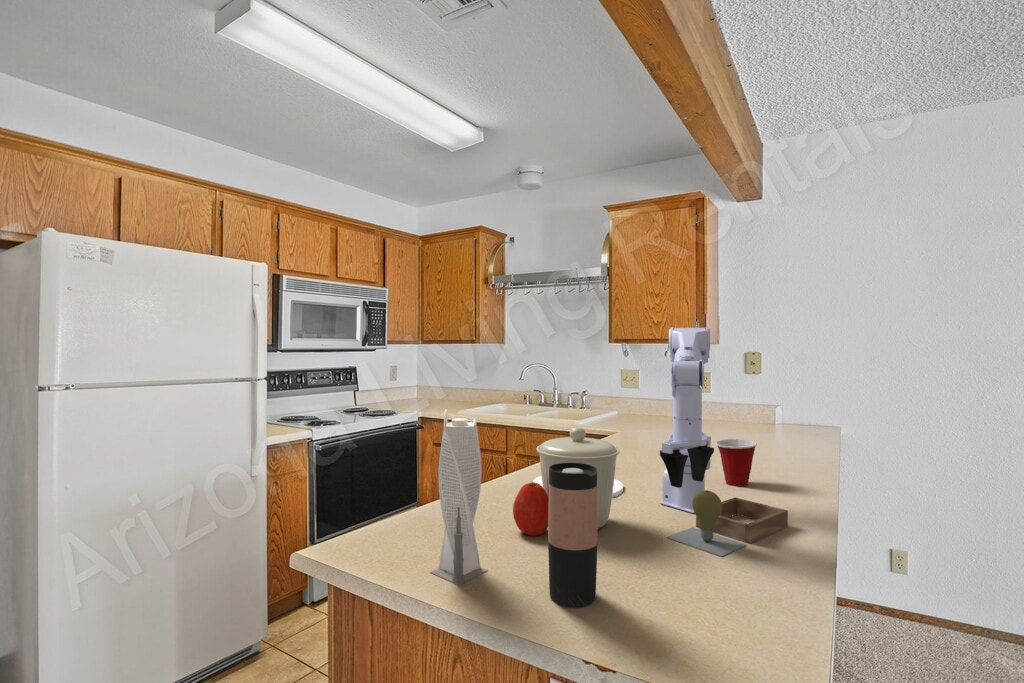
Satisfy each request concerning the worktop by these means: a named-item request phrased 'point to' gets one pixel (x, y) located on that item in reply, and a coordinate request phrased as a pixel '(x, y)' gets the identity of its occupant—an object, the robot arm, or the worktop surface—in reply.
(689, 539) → the pad
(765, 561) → the worktop surface
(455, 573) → the skyscraper
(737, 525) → the walnut box
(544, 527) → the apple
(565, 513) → the travel mug
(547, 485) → the canister
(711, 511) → the light bulb
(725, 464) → the plastic cup
